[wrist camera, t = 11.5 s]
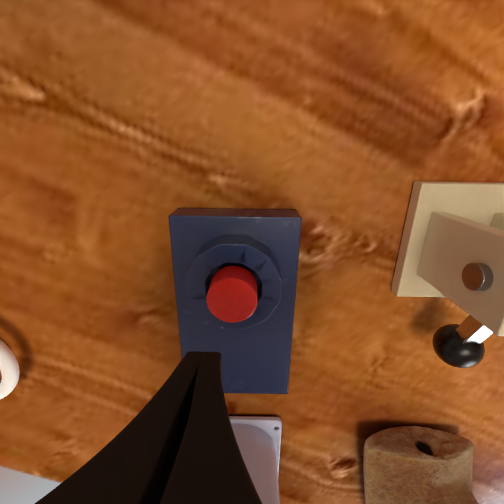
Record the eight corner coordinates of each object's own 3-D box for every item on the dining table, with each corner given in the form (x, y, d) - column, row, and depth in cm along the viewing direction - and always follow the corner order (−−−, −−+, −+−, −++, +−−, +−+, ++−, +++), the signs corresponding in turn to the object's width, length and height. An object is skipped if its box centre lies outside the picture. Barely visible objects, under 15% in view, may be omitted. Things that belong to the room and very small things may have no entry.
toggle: (456, 337, 21) (478, 375, 18) (418, 336, 21) (436, 374, 19) (560, 238, 14) (612, 281, 12) (503, 237, 14) (546, 280, 12)
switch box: (483, 291, 21) (608, 369, 13) (390, 290, 21) (464, 366, 13) (521, 182, 18) (706, 205, 11) (413, 181, 18) (524, 202, 11)
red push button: (256, 307, 17) (256, 323, 15) (211, 306, 17) (207, 322, 15) (257, 265, 16) (258, 278, 14) (210, 264, 16) (204, 277, 14)
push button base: (284, 371, 24) (290, 414, 20) (191, 370, 24) (179, 412, 20) (296, 209, 19) (306, 224, 15) (178, 207, 19) (158, 222, 15)
